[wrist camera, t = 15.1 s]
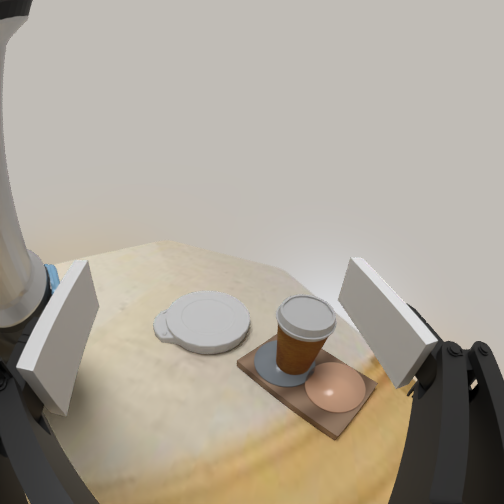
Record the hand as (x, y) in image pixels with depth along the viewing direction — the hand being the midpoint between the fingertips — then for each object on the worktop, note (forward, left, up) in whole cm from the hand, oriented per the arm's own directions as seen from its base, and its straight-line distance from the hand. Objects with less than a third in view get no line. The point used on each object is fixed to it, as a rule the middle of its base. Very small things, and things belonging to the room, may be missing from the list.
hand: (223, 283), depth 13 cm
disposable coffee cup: (-7, +23, -30) cm, 38 cm away
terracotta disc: (+2, +24, -30) cm, 39 cm away
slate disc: (-8, +22, -30) cm, 38 cm away
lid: (-26, +17, -33) cm, 45 cm away
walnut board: (-3, +23, -32) cm, 39 cm away
